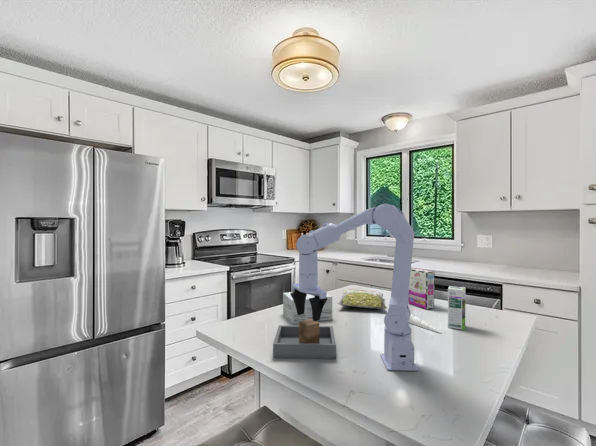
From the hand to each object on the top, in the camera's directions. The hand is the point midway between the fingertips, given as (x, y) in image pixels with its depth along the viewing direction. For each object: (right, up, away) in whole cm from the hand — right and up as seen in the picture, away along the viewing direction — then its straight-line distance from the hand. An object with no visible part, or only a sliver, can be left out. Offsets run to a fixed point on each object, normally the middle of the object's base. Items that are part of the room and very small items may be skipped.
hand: (308, 317), depth 101 cm
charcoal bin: (-1, -9, 0) cm, 9 cm away
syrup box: (+55, -9, +19) cm, 59 cm away
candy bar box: (+52, -8, +46) cm, 70 cm away
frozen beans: (+26, -9, +49) cm, 56 cm away
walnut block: (0, -9, 0) cm, 9 cm away
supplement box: (0, -9, +31) cm, 32 cm away
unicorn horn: (+41, -9, +23) cm, 48 cm away
